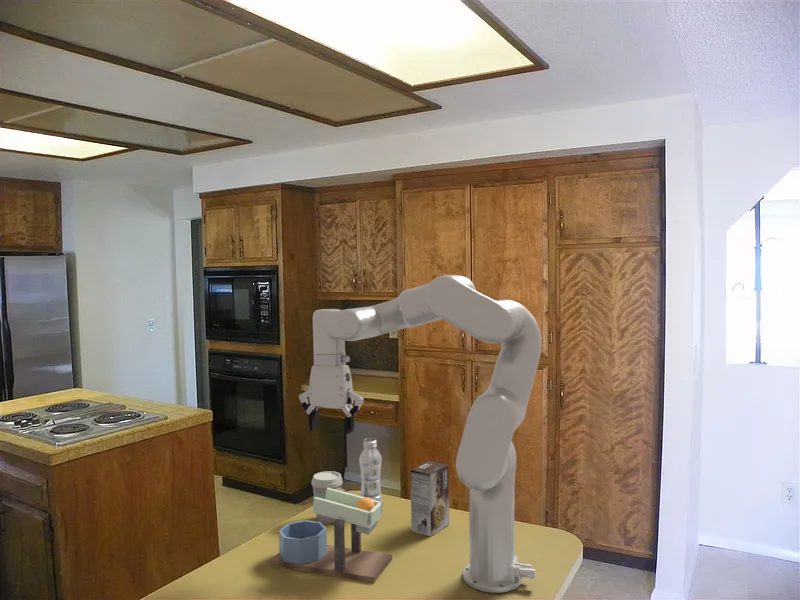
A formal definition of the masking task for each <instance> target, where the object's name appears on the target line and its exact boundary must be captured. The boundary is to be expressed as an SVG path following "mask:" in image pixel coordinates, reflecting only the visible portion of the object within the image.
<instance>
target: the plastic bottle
mask: <svg viewBox="0 0 800 600" xmlns="http://www.w3.org/2000/svg"><path fill="white" fill-rule="evenodd" d="M377 443H378V441H377V439H376V438H373V437H371V438H365V439H363V445H362V446H363V450H362V451H361V453H360V455H359V457H358V458H359V459H358V460H359V462H358V463H359V468H360V476H361V477H360V478H361V481H360V482H361V487H360V495H359V496H362V497H366V498H370V499H373V500H377V501H380V502H383V503H384V501H383V496H382V495H383V494H382V490H381V488H382V487H381V472H382V471H381V468H382V462H383V458H382V455H381V453H380V451H379V450H378V449H377V448H378V444H377Z"/></svg>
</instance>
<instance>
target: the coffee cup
mask: <svg viewBox="0 0 800 600" xmlns="http://www.w3.org/2000/svg"><path fill="white" fill-rule="evenodd" d="M343 483H344V479H343V476H342V474H341V473H340V472H337V471H332V470H330V471H327V470H325V471H321V472H317V473H315V474H313V477H312V479H311V486H312V491H313V499H314V498H315V497H318V498H322V499H325V496H326V489H327V488H332V489H337V488H341V489H343V488H342V487H343ZM315 514H316V515H315V516H316V522H321V523H322V524H323V525H324V524H325V525H327V524H334V521H335V520H336V519H335V518H331V517H328V516H324V515H321V514H317V513H315Z"/></svg>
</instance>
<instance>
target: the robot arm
mask: <svg viewBox="0 0 800 600" xmlns="http://www.w3.org/2000/svg"><path fill="white" fill-rule="evenodd" d="M476 288H477V287H476V286H475V284H474V283H473V281H472V280H471V279H470V278H467V277H466V276H462V275H458V274H457V275H456V274H455V275H453V274H452V275H451V274H445V275H440V276H438V277H435V278H434V279H432V280H431V282H429V283H425V284H423V285H419V286H416V287H412V288H408V289H405V290H403V291H401V292H400V293H399V295H398V296H397V297H396V298H392V299H391V300H388V301H383V302H381V303H378V304H373V305H369V306H364V307H363V306H362V307H354V308H346V309H338V308H323V309H322V308H321V309H316V310H315V311H314V312H313V314H312V337H313V338H312V340H313V343H312V345H313V365H312V366H311V370H310V375H309V384H308V385H309V386H308V390H306V391H303V392H302V393H300V394H299V395H298V398H299V401H300V403H301V407H302V408H303V409H304V410H305V412H306V415H308V426H309V431H311V432H312V431H316V430H318V429H319V423H320V422H319V412H318V411H317V410H318V409H319V408H320V409H321V408H324V409H334V410H335V409H338V410H342V412H343V413H344V415H345V416H344V433H345V434H346V435H348V434H351V433H352V432H354V429H355V415H357V413H358V412H359V411H360V410H361V407H362V405H363V403H364V401H365V398H364V397H363V396H360V395H359V394H358V393H356V392H354V389H353V380H352V374H351V371H350V366H349V365H347V362H348V363H349V362H350V361H351V358H350V356H349V355H347V353H346V344H345V343H346V342H357V341H359V340H364V339H365V340H366V339H369V338H374V337H378V336H383V335H385V334H388V333H393V332H397V331H399V330H403V329H408V328H409V329H413V328H416V327H418V326H422V325H426V324H429V323H432V322H433V323H434V322H436V321H441V320H443V321H445V322H447V323H449V324H450V325H452V326H454V327H455V328H458V329H459V330H460V331H462V332H465V333H466V334H468V335H470V336H472V337H473V338H475V339H476V340H479V341H481V342H483V343H486V344H491V345H493V344H494V345H495V344H500V349H499V350H500V351H499V353H498V356H497V359H496V360H495V365H494V369H493V372H492V376H491V379H490V382H489V384H488V387H487V390H486V391H485V392H483V393H482V394H480V395H479V396H478V397H477V398H476V399H475V400H474V402H473V404H472V405H471V408H470V410H469V412H468V414H467V419H466V421H465V425H464V429H463V433H462V437H461V441H460V444H459V448H458V451H457V453H456V455H457V456H456V459H455V468H456V473H457V477H459V479H460V482H461V483H462V484H463V485H464V486H465V487H467V488H468V489H469V496H468V497H469V499H468V500H469V503H468V505H469V507H468V508H469V511H468V512H469V513H468V515H469V517H468V518H469V519H468V521H469V563H468V564H467V565H465V567H463V570H462V579H463V580H464V582H465V583H466V584H467V585H468V586H469V587H471V588H473V589H474V590H477V591H480V592H484V593H492V594H493V593H494V594H498V593H507V592H510V591H514V590H515V589H517V588H519V587H520V586H521V584H522V582H523V578H526V579H530V580H536V576H537V570H536V569H535V568H532V564H530V563H521V561H518V560H519V559H518V555H517V554H515V487H516V486H515V483H516V482H515V481H516V470H517V452H516V448H515V445H514V443H513V440H512V439H513V436H514V434H515V432H516V431H515V430H517V428H519V426H520V425H521V424H522V423H523V422H524V420H525V417H526V412H527V408H528V405H529V400H530V397H531V394H532V391H533V390H532V389H533V386H534V382H535V379H536V373H537V369H538V366H539V362H540V358H541V353H542V345H543V344H542V343H543V342H542V334H541V329H540V327H539V324H538V321H537V320H536V318H535V317H534V315H533V314H532V313H531V311H529V310H528V309H527V308H526V306H524V305H523V304H521V303H519V302H517V301H515V300H512V299H499V300H494V299H493V298H491V297H489V296H487V295H484V294H483V293H481V292H478V291H477V289H476ZM345 341H346V342H345ZM308 399H309V400H308ZM354 402H355V403H354ZM353 404H354V406H353Z"/></svg>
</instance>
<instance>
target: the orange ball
mask: <svg viewBox="0 0 800 600" xmlns="http://www.w3.org/2000/svg"><path fill="white" fill-rule="evenodd" d="M374 507H375V506H374V502H373V501H372V500H371V499H370V498H366V497H365V498H362V499H360V500H359V501H358V503H357V508H359V509H362V510H366V511H369V512H370V511H371V510H372V509H373V508H374Z"/></svg>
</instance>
